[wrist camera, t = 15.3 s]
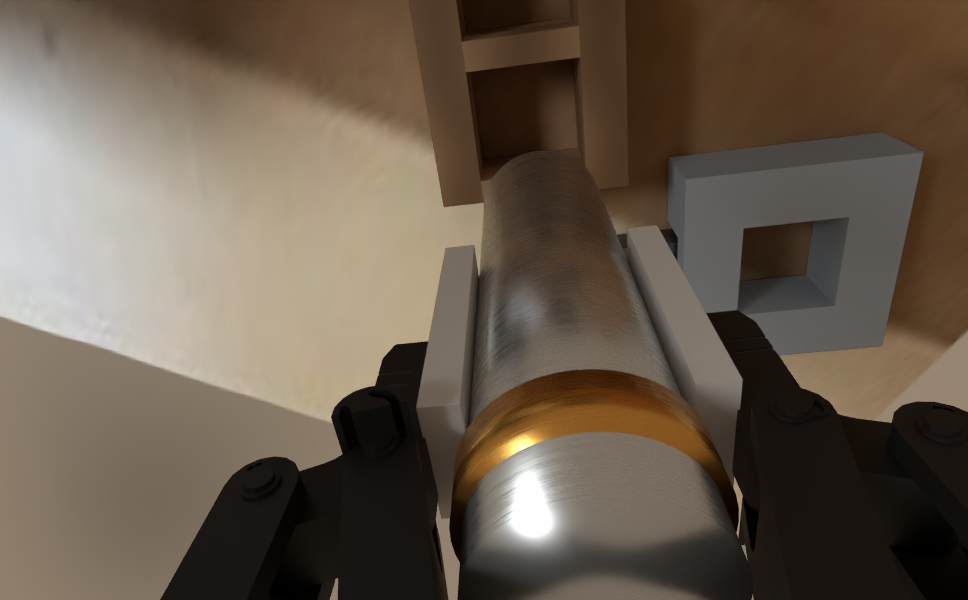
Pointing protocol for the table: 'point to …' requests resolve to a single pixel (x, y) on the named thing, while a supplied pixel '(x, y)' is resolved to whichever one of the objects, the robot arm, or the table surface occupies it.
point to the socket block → (792, 199)
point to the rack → (457, 53)
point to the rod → (580, 418)
